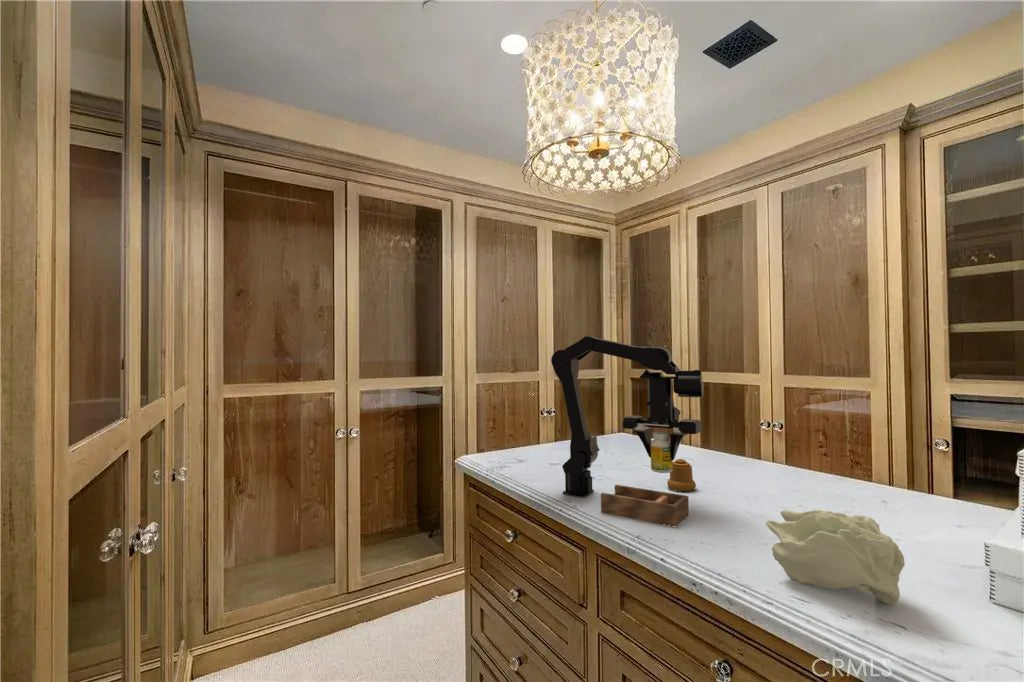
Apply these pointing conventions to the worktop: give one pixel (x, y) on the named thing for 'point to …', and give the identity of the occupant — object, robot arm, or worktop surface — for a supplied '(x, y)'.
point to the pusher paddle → (662, 499)
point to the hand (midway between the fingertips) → (661, 458)
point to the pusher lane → (645, 505)
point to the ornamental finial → (681, 476)
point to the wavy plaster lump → (838, 552)
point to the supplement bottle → (661, 453)
